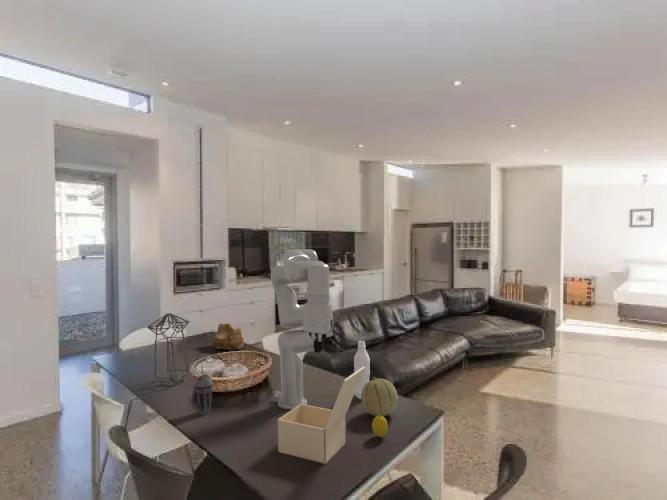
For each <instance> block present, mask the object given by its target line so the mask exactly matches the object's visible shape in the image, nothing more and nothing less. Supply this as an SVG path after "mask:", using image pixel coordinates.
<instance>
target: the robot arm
mask: <svg viewBox="0 0 667 500" xmlns="http://www.w3.org/2000/svg"><path fill="white" fill-rule="evenodd" d="M318 258H319V257H318V255H317V252H316V251H315V250H313V249H309V248H308V249H305V248H304V249H299V248H298V249H290V250H287V251H286V252H285V253H283V255H282V258H281V259H282V263H283V264H279V265H276V266H273V267H272V268H271V270H270V271H271V272H270V280H271V284H272V288H273V290H274V292H275V294H276V299H277V309H278V311H277V312H278V319H279V324H280V326H281V327H282V328H288V329H289V328H300V327H302V329H295V330H286V331H283V332H282V333H280V334H279V335H278V337H277V343H278V344H277V345H278V352H279V359H280V360H279V361H280V362H279V363H280V391H278V390H276V391H275V392H274V396H273V397H274V398H277V399H278V400H277V406H278V407H279V408H280V409H283V410H293V409H294V408H296V407H297V406H298V405H300V404H303V405H308V399H307V398H305V397H304V367H303V366H304V365H303V361H302V359H301V358H300V357H299V356H298V355H297V354H300V353H309V352H314V353H317V354H320V353H321V352H324V351H323V350H324V341H325V339H326V338H331V337H332V336H334V332H333V330H334V315H333V314H334V313H333V308H332V304H331V303H330V266H329V265H328V264H326V263H324V262H323V261H322V260H319V259H318ZM298 284H300V285H301V284H307V285H306V286H307V287H306V290H307V292H306V294H305V295H304V299H305V300H306V302H305V303H304V304H298V297H297V293H296V292H295V291H296V290H294V289H293V287H291V286H290V285H298Z"/></svg>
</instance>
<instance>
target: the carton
mask: <svg viewBox="0 0 667 500" xmlns="http://www.w3.org/2000/svg"><path fill="white" fill-rule="evenodd" d="M332 410H333V409H330V408H325V407H319V406H313V405H309V404H307V405H303V404H300V405H298V406H297V407H296V408H294V409H290V411H288V412H287V413H285V414H284V415H282V416H281V417H279V418H278V419H277V424H276V425H277V453H280V454H284V455H288V456H293V457H296V458H301V459H304V460H308V461H312V462H316V463H320V464H324V465H326V464H327V463H328V462H329V461H330V460H332V458H333V457H334V456H336V454H337V453H338V452H339V451H340V450H341V449H342V448H343V447H344V446H345V445H346V444H347V436H346V435H347V433H346V432H347V431H346V428H347V427H346V414H344V415H343V416H342V417H341V418H340V419H339V420H337V421H336V422H335V423H334V424H333V425H332V426H330V427H329V428H328V429H327V430H326V429H325V427H326V425H327V422H328V420H329V417H330V415H331V412H332Z"/></svg>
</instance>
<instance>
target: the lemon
mask: <svg viewBox="0 0 667 500" xmlns="http://www.w3.org/2000/svg"><path fill="white" fill-rule="evenodd" d="M371 428H372V429H371V430H372V433H373V434H374V435H376V437H378V438H382V437H383V436H385V435H386V434H387V432H388V429H389V427H388V421H387V419H386V418H385V416H381V415H379V416H374V417H373V420H372V424H371Z"/></svg>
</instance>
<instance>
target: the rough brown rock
mask: <svg viewBox="0 0 667 500" xmlns="http://www.w3.org/2000/svg"><path fill="white" fill-rule="evenodd" d="M217 327H218V328H217V331H216V333H215V334H214V337H213V339H212V341H211V344H212V346H213V348H214V349H215V348H219V349H218V350H221V349H222V350H226V349H228V350H227V351H229V350H233V351H237V350H236V349H238V350H240V349H242V348H243V347H244V345H245V343H244V342H245V341H244V337H243V332H242V329H241V328H239V327H237V328H234V327H233V326H232V325H231V323H228V322H227V323H219V324H218V325H217Z"/></svg>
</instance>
